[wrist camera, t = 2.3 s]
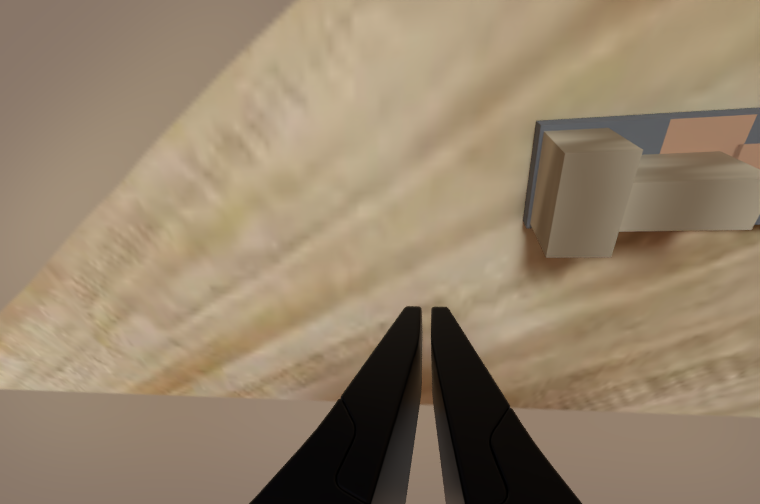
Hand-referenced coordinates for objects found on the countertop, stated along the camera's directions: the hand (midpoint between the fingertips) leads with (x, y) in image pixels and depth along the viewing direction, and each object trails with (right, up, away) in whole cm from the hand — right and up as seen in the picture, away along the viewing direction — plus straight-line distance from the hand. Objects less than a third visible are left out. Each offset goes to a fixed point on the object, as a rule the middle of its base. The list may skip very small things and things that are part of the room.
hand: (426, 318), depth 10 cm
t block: (+10, +5, +6) cm, 13 cm away
